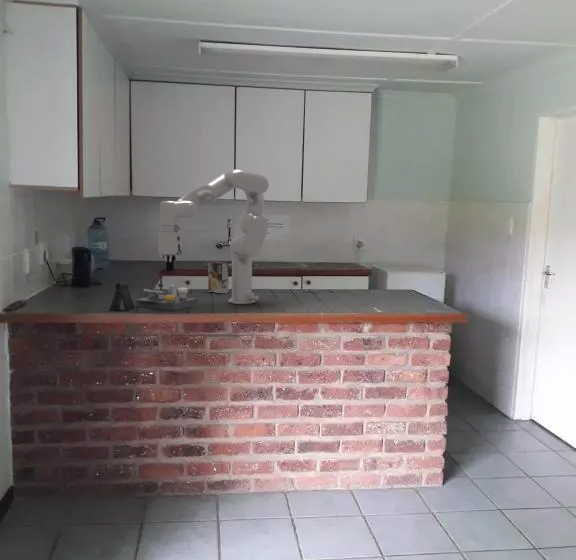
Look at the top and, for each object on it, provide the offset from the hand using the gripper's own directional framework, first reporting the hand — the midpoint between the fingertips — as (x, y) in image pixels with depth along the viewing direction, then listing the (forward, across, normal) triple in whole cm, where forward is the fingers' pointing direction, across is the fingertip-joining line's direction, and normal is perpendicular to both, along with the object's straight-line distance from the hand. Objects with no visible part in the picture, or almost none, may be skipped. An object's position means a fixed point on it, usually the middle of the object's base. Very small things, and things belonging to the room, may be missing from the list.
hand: (170, 270), depth 262 cm
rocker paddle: (+12, +13, -5) cm, 18 cm away
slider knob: (+13, +7, -10) cm, 18 cm away
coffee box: (+17, +6, -48) cm, 52 cm away
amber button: (+16, 0, 0) cm, 16 cm away
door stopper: (+17, +16, +13) cm, 27 cm away
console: (+17, +6, -4) cm, 18 cm away
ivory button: (+14, 0, -9) cm, 17 cm away
